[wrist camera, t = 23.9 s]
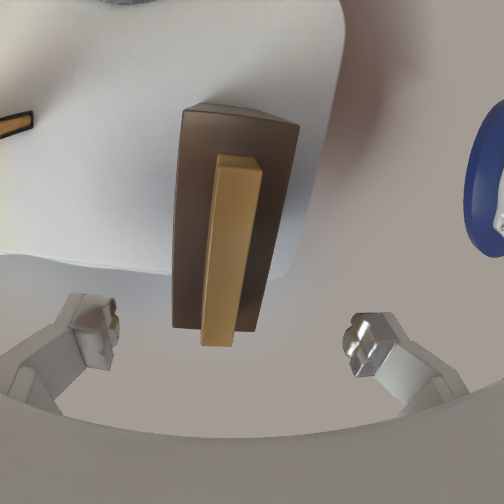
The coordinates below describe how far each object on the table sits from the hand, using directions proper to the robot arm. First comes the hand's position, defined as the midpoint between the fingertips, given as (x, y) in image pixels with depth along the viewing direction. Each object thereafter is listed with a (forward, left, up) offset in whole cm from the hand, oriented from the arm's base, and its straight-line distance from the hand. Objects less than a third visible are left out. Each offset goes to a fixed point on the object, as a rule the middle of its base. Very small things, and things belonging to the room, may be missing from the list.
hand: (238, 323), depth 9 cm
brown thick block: (0, 0, -19) cm, 19 cm away
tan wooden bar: (0, 0, -6) cm, 6 cm away
